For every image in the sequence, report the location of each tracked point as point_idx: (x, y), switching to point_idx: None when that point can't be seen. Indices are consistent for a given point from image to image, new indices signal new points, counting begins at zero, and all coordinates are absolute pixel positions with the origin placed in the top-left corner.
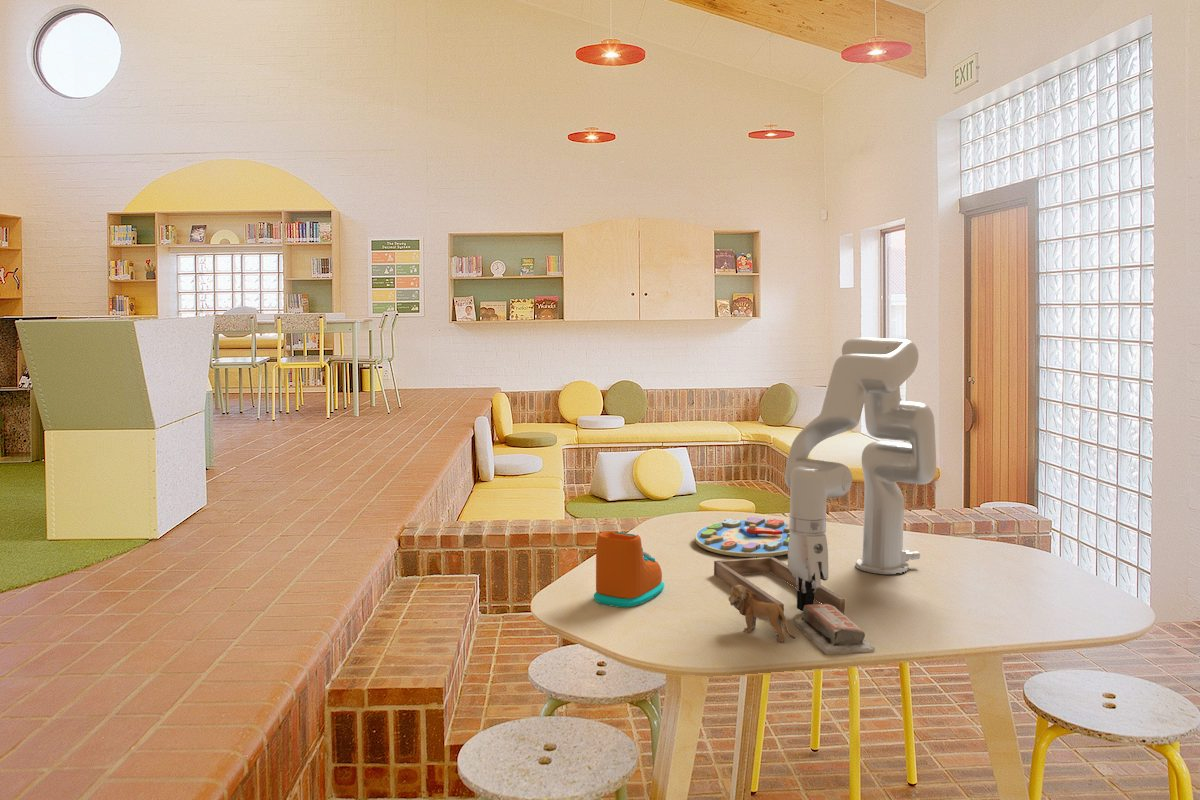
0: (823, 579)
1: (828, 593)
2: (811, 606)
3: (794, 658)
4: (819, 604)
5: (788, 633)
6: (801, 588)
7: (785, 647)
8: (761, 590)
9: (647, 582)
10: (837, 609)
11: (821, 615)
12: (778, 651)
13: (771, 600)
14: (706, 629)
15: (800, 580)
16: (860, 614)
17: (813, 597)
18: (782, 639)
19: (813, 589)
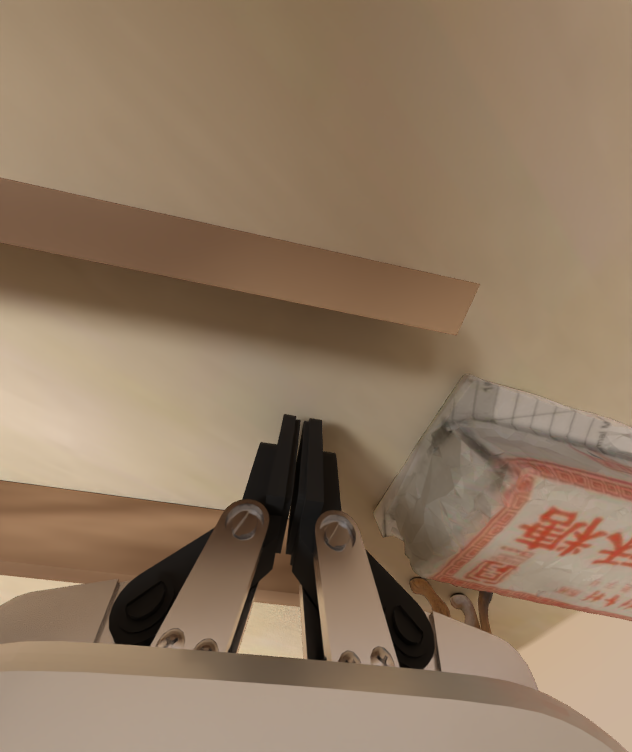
0: (517, 709)
1: (255, 292)
2: (468, 578)
3: (556, 616)
4: (478, 543)
5: (486, 613)
6: (267, 568)
7: (496, 602)
8: (114, 578)
9: None
10: (588, 497)
11: (589, 608)
12: (500, 618)
13: (262, 600)
14: (297, 644)
15: (236, 648)
16: (480, 150)
17: (321, 470)
18: (471, 604)
19: (381, 579)
